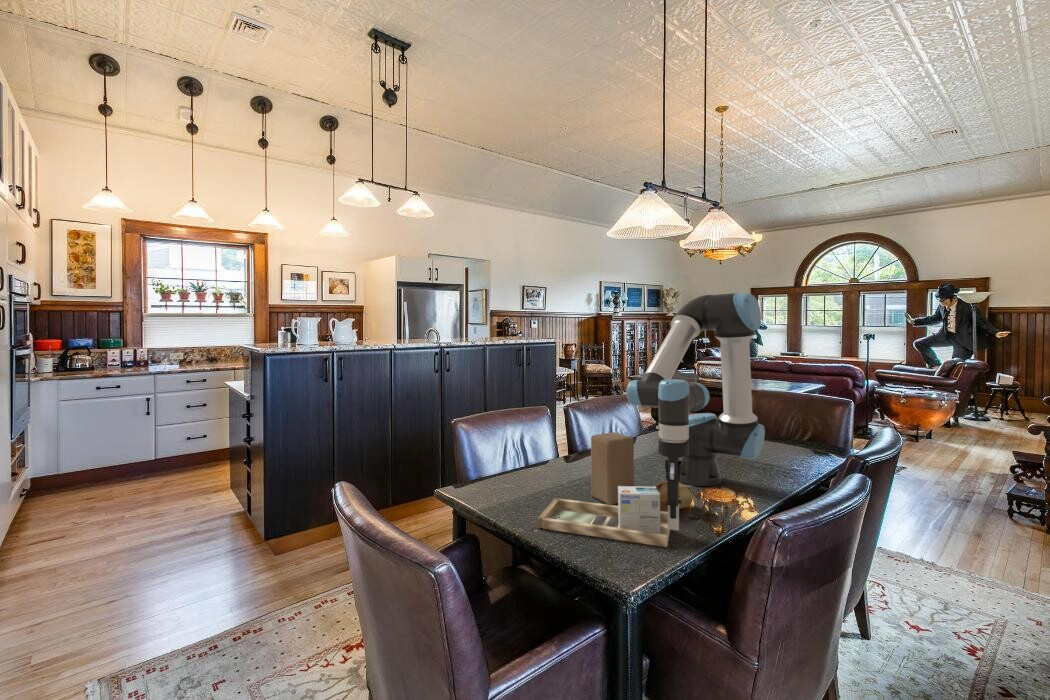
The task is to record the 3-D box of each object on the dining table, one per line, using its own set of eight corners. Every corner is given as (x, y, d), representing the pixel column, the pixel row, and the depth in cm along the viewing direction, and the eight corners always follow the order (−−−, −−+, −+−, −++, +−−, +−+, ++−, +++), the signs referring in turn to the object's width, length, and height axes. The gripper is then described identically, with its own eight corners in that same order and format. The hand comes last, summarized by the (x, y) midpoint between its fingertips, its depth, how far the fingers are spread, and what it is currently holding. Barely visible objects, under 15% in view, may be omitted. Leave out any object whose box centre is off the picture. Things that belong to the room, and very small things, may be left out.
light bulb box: (656, 524, 131) (656, 485, 130) (661, 535, 124) (661, 494, 123) (617, 523, 132) (617, 484, 131) (619, 533, 125) (619, 493, 124)
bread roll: (642, 511, 140) (642, 484, 140) (671, 499, 150) (671, 474, 150) (670, 521, 133) (670, 493, 133) (699, 507, 143) (699, 481, 142)
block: (609, 506, 144) (609, 441, 143) (590, 496, 153) (589, 434, 152) (635, 500, 149) (634, 437, 148) (615, 491, 157) (614, 431, 156)
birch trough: (671, 522, 133) (671, 512, 132) (666, 548, 117) (666, 537, 117) (555, 507, 145) (555, 498, 145) (537, 529, 129) (536, 518, 129)
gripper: (660, 433, 131) (660, 517, 132) (656, 444, 119) (656, 537, 120) (689, 434, 128) (689, 521, 129) (687, 446, 116) (687, 541, 117)
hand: (673, 528), depth 124 cm, fingers closed
